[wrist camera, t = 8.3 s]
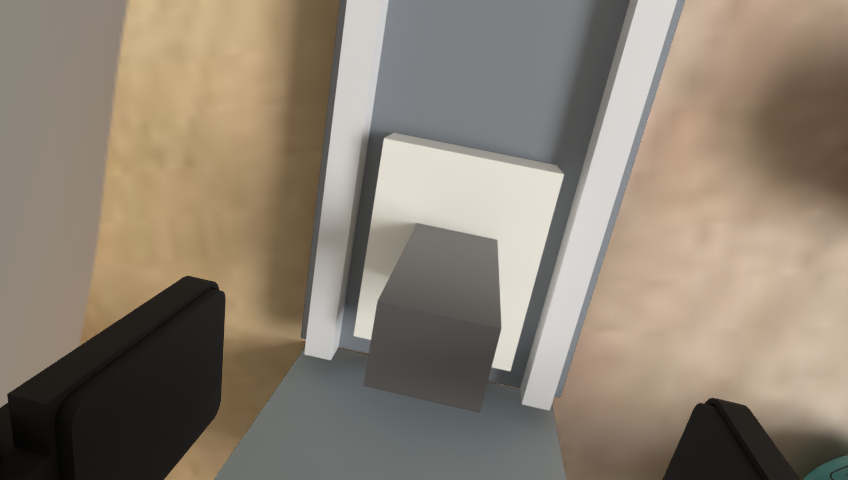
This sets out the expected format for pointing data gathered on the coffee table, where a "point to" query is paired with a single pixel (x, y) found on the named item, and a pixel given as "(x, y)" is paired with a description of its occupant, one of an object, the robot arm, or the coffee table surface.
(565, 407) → the coffee table surface
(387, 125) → the rail bed
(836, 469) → the beverage bottle
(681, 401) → the coffee table surface
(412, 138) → the carriage
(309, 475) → the button cabinet
